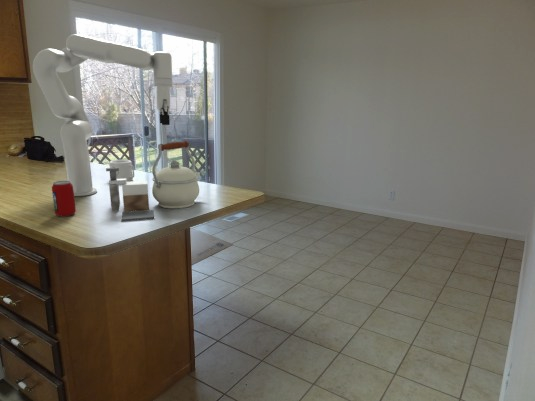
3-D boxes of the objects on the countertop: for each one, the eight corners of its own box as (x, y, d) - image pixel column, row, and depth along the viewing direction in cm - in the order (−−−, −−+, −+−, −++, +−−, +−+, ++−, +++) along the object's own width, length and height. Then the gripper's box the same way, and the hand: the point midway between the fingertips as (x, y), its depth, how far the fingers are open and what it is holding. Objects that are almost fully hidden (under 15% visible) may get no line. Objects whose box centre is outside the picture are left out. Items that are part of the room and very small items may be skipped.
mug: (106, 181, 195) (104, 161, 192) (121, 177, 205) (119, 158, 202) (127, 183, 190) (125, 163, 188) (141, 179, 200) (140, 160, 197)
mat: (121, 221, 133) (121, 219, 132) (122, 214, 141) (122, 212, 141) (154, 219, 136) (154, 216, 136) (153, 211, 144) (153, 209, 144)
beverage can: (60, 212, 143) (56, 180, 139) (79, 211, 143) (75, 180, 140) (52, 217, 136) (47, 184, 133) (71, 217, 137) (67, 184, 134)
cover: (123, 195, 143) (122, 185, 142) (123, 192, 149) (122, 181, 148) (148, 194, 146) (147, 183, 145) (147, 190, 151) (147, 180, 150)
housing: (111, 212, 142) (108, 186, 140) (113, 203, 155) (111, 179, 152) (149, 210, 146) (147, 184, 144) (148, 201, 159) (146, 177, 156)
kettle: (173, 214, 142) (169, 146, 135) (139, 206, 151) (134, 143, 144) (216, 200, 162) (215, 140, 156) (184, 194, 171) (182, 137, 165)
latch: (107, 184, 142) (105, 169, 140) (107, 182, 145) (106, 167, 143) (126, 183, 144) (125, 168, 142) (126, 182, 147) (125, 167, 145)
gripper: (152, 83, 170) (154, 122, 174) (155, 82, 154) (157, 125, 159) (170, 84, 172) (171, 122, 177) (174, 82, 157) (175, 125, 161)
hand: (164, 124), depth 168 cm, fingers open, 9 cm apart
